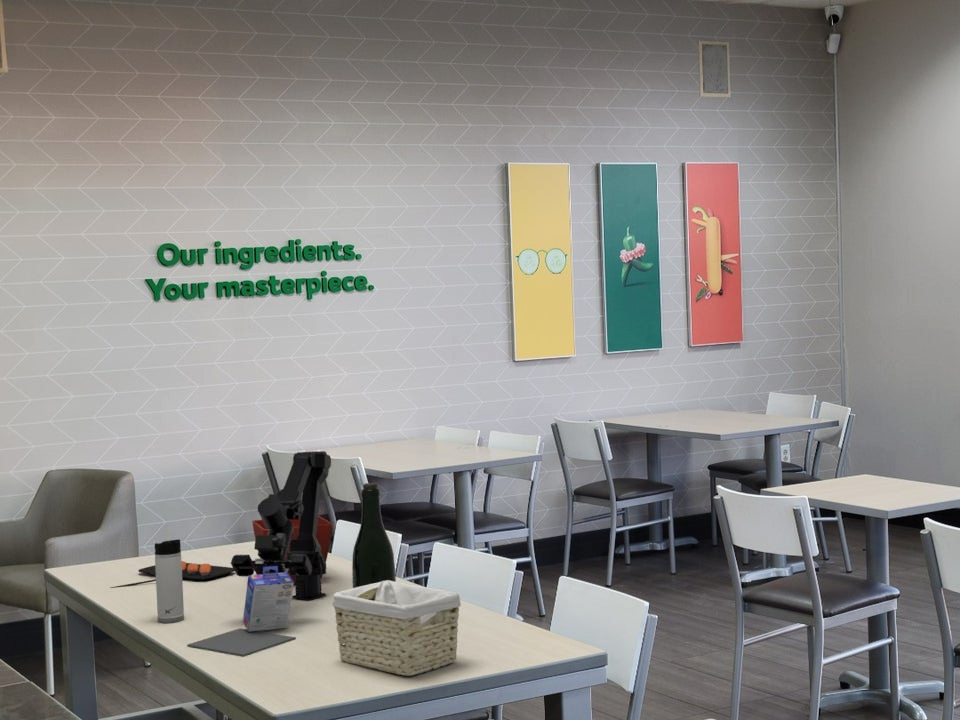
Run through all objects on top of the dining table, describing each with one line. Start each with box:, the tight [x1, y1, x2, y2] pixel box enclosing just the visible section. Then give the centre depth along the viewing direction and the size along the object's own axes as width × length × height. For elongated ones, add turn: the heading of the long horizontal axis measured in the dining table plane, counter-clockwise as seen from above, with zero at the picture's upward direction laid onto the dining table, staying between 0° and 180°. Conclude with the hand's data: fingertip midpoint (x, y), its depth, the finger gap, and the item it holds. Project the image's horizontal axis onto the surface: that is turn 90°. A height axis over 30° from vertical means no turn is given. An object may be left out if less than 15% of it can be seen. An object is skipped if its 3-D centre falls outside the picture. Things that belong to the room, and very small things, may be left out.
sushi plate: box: [109, 560, 235, 589], centre depth 342 cm, size 29×30×4 cm
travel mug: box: [154, 538, 185, 624], centre depth 291 cm, size 6×7×20 cm
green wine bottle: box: [351, 482, 397, 601], centre depth 282 cm, size 10×10×33 cm
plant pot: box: [252, 515, 333, 586], centre depth 332 cm, size 19×19×17 cm
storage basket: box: [332, 580, 462, 677], centre depth 247 cm, size 24×16×15 cm
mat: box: [186, 627, 297, 658], centre depth 267 cm, size 16×18×1 cm
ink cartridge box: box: [242, 566, 295, 632], centre depth 276 cm, size 10×6×14 cm, turn 120°
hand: (263, 595), depth 279 cm, fingers closed
